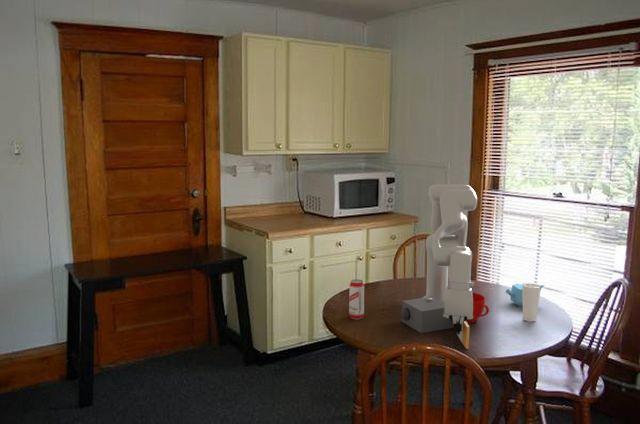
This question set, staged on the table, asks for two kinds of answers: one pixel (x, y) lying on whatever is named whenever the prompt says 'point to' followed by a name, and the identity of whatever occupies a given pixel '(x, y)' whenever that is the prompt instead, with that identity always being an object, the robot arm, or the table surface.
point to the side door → (464, 333)
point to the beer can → (356, 299)
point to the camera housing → (425, 314)
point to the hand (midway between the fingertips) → (457, 332)
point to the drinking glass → (530, 301)
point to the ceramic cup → (478, 307)
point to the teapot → (517, 294)
